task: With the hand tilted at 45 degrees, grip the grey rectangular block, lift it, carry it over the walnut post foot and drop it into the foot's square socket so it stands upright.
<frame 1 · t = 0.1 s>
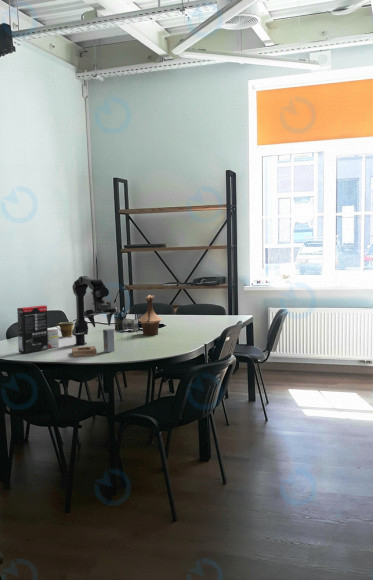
hand: (102, 326, 290), 15 cm above the table, tool pointing down, fingers open, 9 cm apart
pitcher: (150, 334, 353), on the table
grey rectangular block: (109, 351, 295), on the table
post foot: (84, 353, 289), on the table
graphics card box: (34, 351, 302), on the table
ink box: (51, 347, 314), on the table
ceramic cup: (65, 337, 352), on the table
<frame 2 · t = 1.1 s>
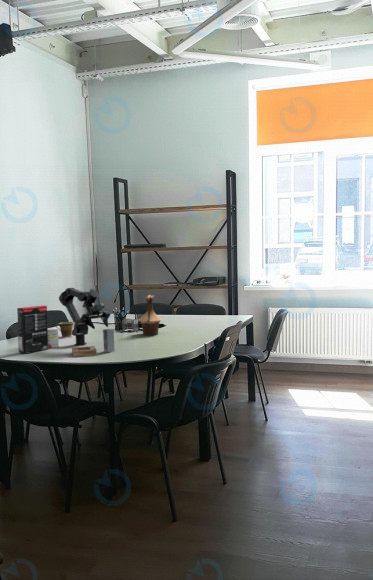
hand: (101, 327, 299), 13 cm above the table, tool tilted 45°, fingers open, 9 cm apart
nothing on the table moved.
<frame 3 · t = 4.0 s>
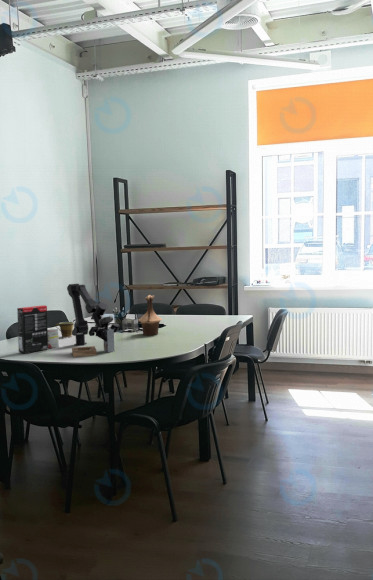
hand: (110, 340, 293), 7 cm above the table, tool tilted 45°, fingers closed on grey rectangular block, 4 cm apart
grey rectangular block: (109, 351, 295), on the table, touching gripper
everything else where it was.
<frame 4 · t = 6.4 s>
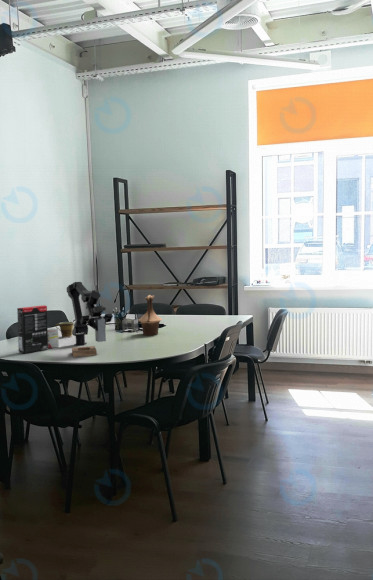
hand: (101, 330, 290), 13 cm above the table, tool tilted 45°, fingers closed on grey rectangular block, 4 cm apart
grey rectangular block: (100, 340, 292), point 7 cm above the table, touching gripper
everything else where it was.
when the fingers open (8 cm above the table, at t = 9.3 s): grey rectangular block drops 2 cm, resting in post foot.
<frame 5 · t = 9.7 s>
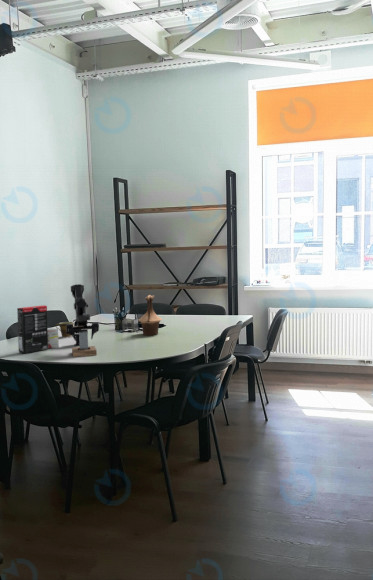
hand: (83, 339, 287), 9 cm above the table, tool tilted 45°, fingers open, 9 cm apart
grey rectangular block: (84, 354, 289), resting in post foot
everything else where it was.
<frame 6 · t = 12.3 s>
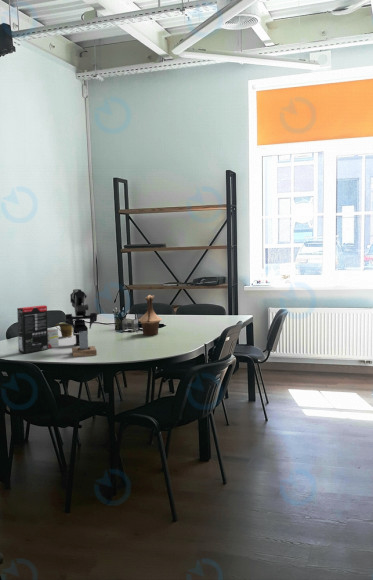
hand: (82, 329, 296), 13 cm above the table, tool tilted 45°, fingers open, 9 cm apart
nothing on the table moved.
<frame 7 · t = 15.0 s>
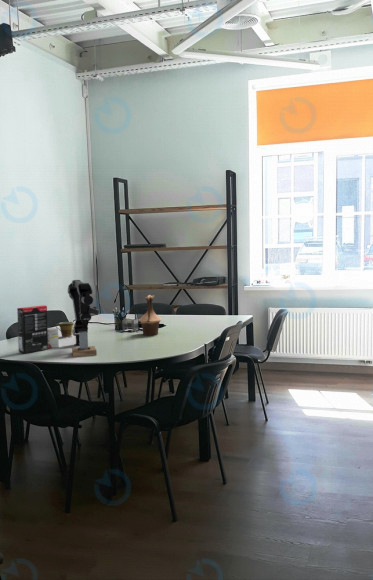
hand: (85, 328, 305), 12 cm above the table, tool pointing down, fingers open, 9 cm apart
nothing on the table moved.
at the end: grey rectangular block 0.0 cm off-centre on the post foot, point 0.0 cm above the post foot's base; grey rectangular block tilted 0°; the gripper is holding nothing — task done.
